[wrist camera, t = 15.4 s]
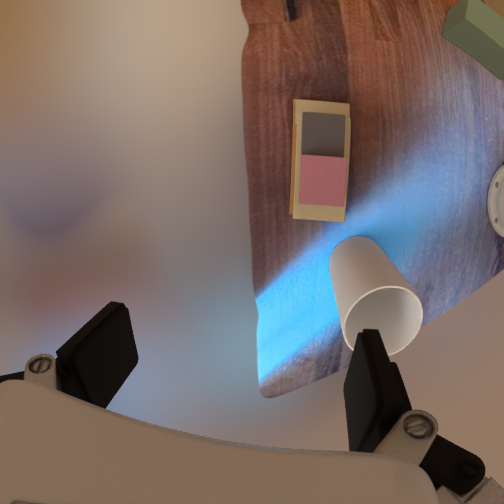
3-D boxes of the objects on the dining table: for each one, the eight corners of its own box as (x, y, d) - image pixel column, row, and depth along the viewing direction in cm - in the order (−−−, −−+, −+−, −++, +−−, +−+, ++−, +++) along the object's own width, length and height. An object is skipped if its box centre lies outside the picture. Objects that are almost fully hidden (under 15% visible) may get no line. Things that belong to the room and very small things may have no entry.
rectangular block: (504, 54, 24) (531, 44, 17) (499, 79, 27) (528, 72, 19) (447, 10, 25) (469, -8, 17) (441, 35, 27) (465, 18, 19)
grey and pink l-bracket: (302, 113, 30) (302, 108, 26) (343, 116, 29) (348, 112, 26) (298, 201, 33) (298, 206, 30) (339, 204, 32) (343, 209, 29)
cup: (323, 242, 40) (337, 296, 25) (380, 230, 38) (422, 276, 23) (333, 295, 42) (347, 365, 27) (386, 283, 40) (422, 347, 26)
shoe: (293, 101, 34) (292, 91, 29) (347, 105, 34) (355, 97, 28) (289, 212, 39) (288, 222, 34) (341, 216, 39) (348, 227, 33)
